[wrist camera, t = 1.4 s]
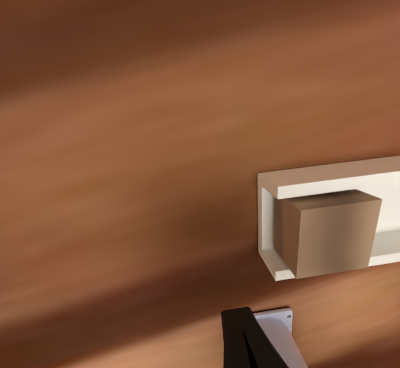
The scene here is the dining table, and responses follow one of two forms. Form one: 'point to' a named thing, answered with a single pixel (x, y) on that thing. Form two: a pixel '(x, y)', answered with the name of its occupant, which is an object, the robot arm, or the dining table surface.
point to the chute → (332, 182)
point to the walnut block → (326, 231)
